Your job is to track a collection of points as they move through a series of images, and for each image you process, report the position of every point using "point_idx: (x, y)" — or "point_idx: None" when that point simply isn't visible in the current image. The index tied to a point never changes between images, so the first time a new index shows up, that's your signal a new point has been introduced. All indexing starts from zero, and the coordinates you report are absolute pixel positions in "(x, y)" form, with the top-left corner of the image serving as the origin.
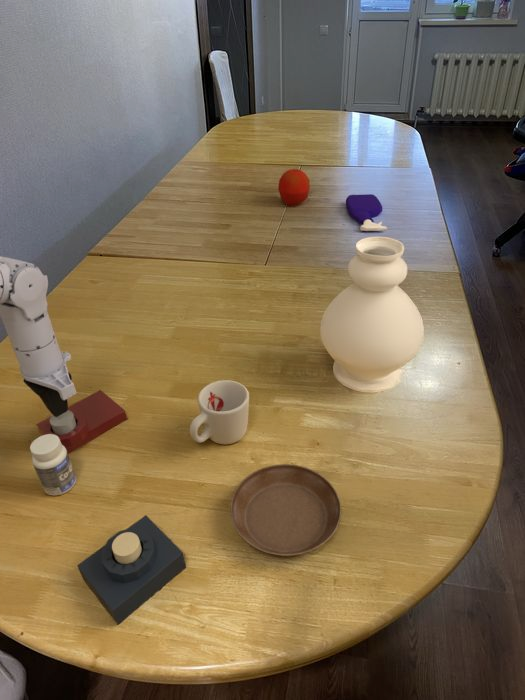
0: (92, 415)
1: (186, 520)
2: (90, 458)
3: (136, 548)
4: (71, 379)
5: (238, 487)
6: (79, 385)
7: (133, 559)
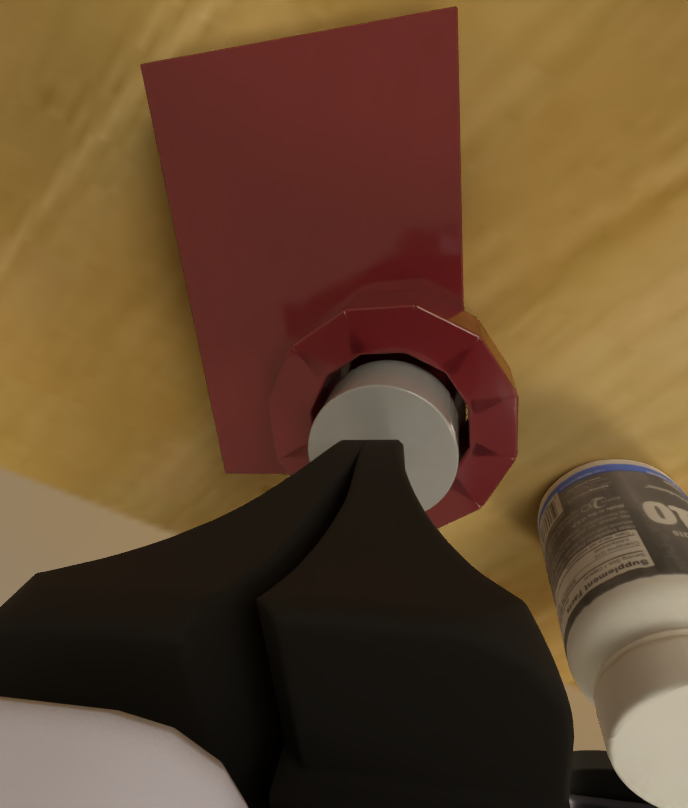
0: (347, 226)
1: None
2: (576, 356)
3: None
4: (524, 610)
5: None
6: (4, 147)
7: None
